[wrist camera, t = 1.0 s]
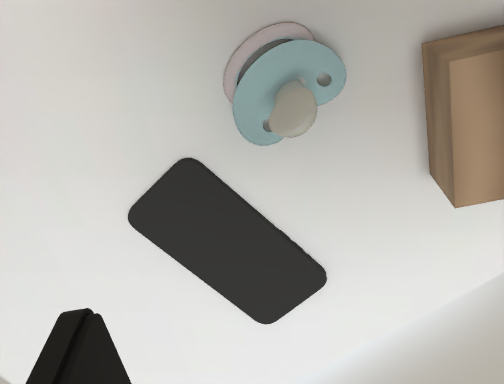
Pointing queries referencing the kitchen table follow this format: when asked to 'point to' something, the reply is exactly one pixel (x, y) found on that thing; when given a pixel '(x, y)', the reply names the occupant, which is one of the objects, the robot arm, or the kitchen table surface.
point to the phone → (226, 242)
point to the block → (466, 115)
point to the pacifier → (281, 83)
